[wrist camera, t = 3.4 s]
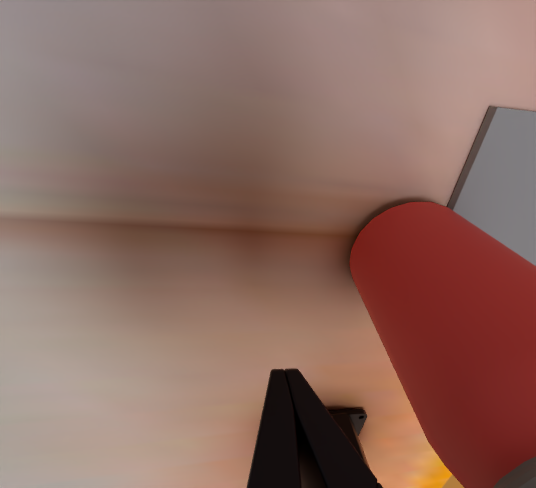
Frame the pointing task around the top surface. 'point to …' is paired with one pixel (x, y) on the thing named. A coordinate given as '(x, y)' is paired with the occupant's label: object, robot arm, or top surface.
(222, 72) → the top surface
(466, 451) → the beer can
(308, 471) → the robot arm
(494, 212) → the mat
